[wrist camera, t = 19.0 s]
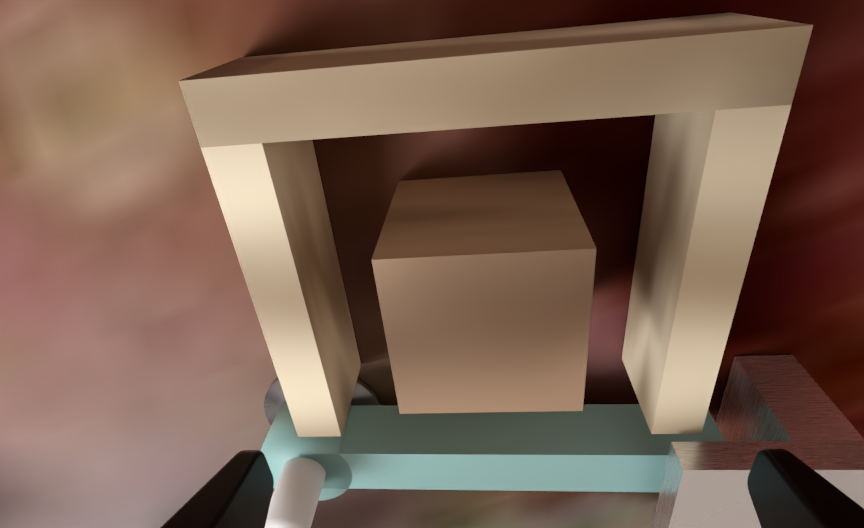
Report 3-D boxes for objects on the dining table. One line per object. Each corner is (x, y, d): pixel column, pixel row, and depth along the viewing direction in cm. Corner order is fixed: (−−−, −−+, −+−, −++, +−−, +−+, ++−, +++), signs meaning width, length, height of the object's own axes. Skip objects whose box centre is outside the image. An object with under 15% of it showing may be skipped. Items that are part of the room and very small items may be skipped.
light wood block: (555, 303, 17) (582, 410, 13) (416, 308, 18) (399, 413, 14) (560, 169, 15) (596, 248, 11) (398, 179, 15) (371, 259, 11)
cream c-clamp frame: (663, 357, 18) (701, 433, 15) (324, 365, 20) (297, 436, 17) (730, 12, 12) (813, 24, 9) (242, 57, 14) (178, 80, 11)
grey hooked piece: (758, 446, 20) (832, 567, 16) (282, 449, 22) (240, 556, 18) (792, 354, 18) (890, 470, 14) (252, 367, 20) (196, 470, 16)
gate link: (288, 451, 21) (247, 560, 17) (268, 391, 20) (216, 497, 16) (691, 453, 20) (746, 573, 16) (709, 388, 18) (777, 505, 14)
